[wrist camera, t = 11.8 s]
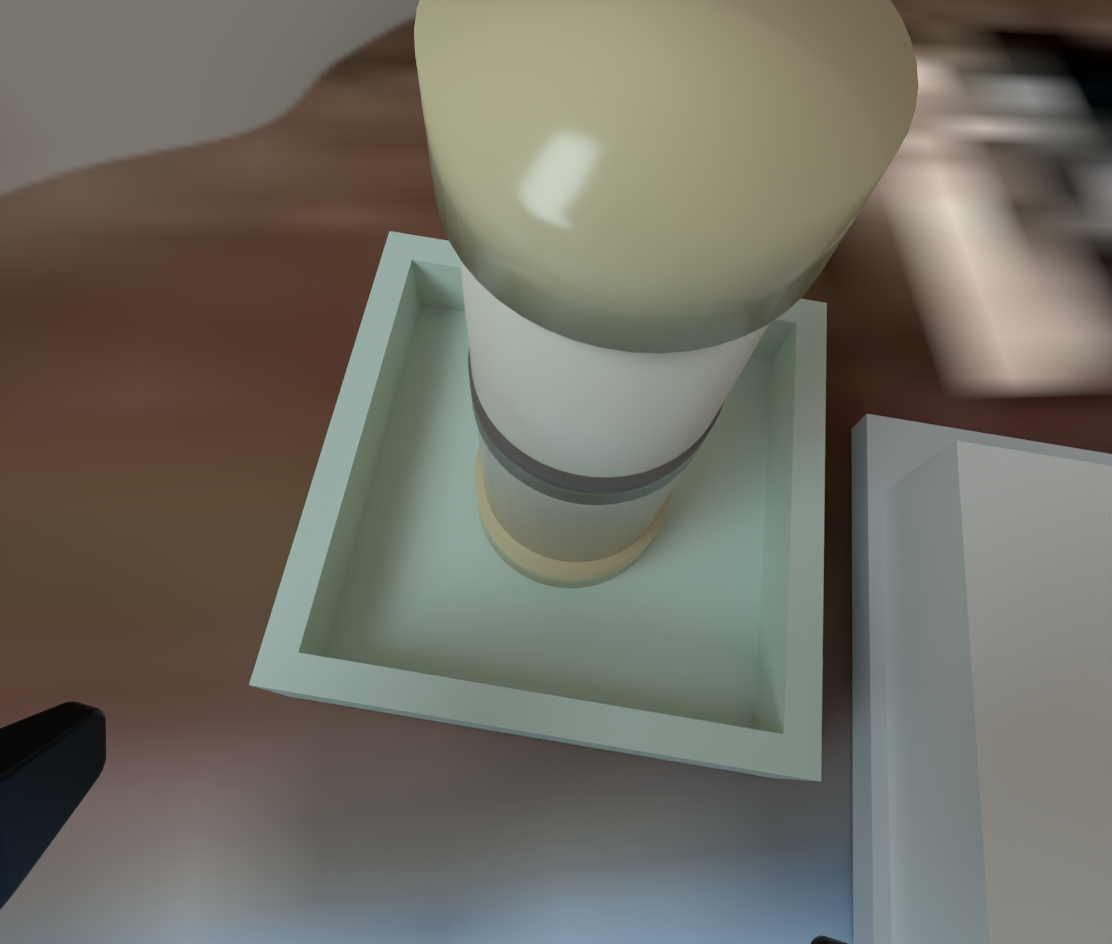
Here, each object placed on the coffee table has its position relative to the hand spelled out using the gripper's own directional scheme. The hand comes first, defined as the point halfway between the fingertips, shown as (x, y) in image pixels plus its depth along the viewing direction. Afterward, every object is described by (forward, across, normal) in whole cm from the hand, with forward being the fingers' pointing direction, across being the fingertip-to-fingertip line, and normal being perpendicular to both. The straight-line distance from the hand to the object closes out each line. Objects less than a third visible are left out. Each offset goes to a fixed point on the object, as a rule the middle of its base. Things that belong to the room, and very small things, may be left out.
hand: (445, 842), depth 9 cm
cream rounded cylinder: (+11, 0, 0) cm, 11 cm away
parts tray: (+12, 0, +1) cm, 12 cm away
